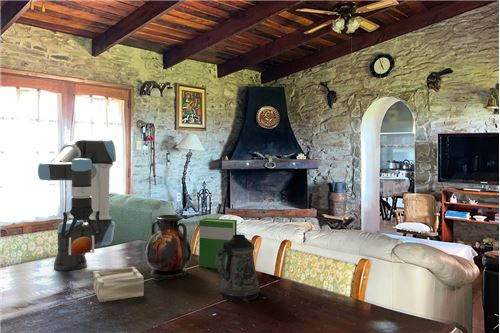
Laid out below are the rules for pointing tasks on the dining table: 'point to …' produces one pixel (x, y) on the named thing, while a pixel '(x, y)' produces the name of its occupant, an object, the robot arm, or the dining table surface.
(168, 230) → the amphora vase
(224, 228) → the hardback book
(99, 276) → the square tray
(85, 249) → the fruit
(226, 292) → the beer stein
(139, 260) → the dining table surface
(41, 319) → the dining table surface
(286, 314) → the dining table surface
